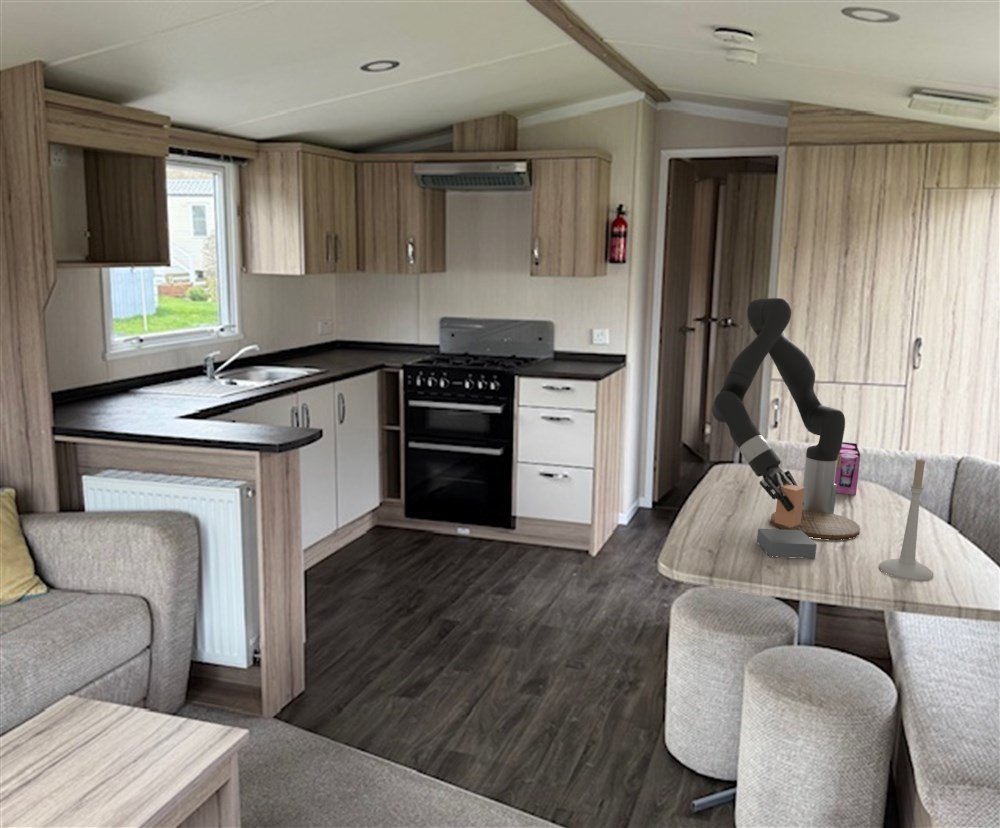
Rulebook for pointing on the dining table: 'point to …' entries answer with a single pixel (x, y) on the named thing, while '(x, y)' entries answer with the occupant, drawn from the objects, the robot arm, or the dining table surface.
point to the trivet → (823, 525)
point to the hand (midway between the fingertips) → (796, 507)
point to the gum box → (847, 469)
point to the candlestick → (910, 538)
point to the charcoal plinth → (786, 543)
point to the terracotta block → (795, 514)
